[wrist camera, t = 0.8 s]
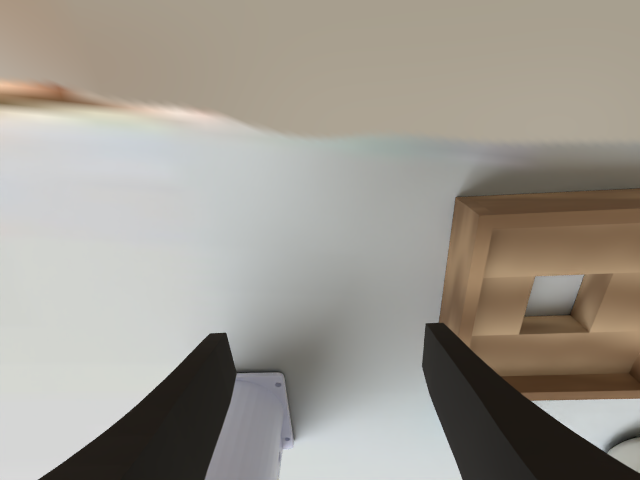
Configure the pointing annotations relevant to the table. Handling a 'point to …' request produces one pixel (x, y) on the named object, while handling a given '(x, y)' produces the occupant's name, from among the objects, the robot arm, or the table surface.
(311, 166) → the table surface
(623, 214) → the crate
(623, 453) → the plastic bottle
